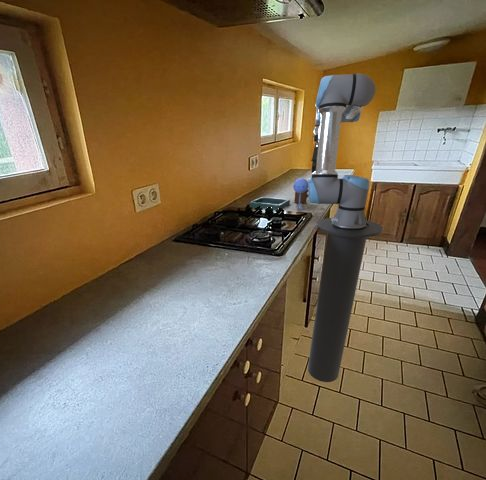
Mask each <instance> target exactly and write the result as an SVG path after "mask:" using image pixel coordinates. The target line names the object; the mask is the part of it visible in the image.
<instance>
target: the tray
mask: <svg viewBox="0 0 486 480" xmlns="http://www.w3.org/2000/svg"><path fill="white" fill-rule="evenodd" d="M290 203H291V199H288V198H278V197H277V198H276V197H265V196H261V197H258V198H256V199H254V200H251V201H249V208H254V209H255V208H256V209H258V208H257V207H259V206H260V208H259V209H265V210H268V209H267V207H272V209H273V210H272V211H279V210H278V208H282V209H285V208H286V207H288V206H289V205H290Z"/></svg>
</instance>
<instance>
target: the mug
mask: <svg viewBox="0 0 486 480" xmlns="http://www.w3.org/2000/svg"><path fill="white" fill-rule="evenodd" d="M299 198H300V193H297V192H296V191H295V190H294V200H293V201H294V203H295V204H299ZM308 198H309V196H308V189H307V190H306V191H305V192H304V193H301V198H300V204H301V205H302V204H306V203H307V199H308Z"/></svg>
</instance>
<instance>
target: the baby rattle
mask: <svg viewBox="0 0 486 480" xmlns="http://www.w3.org/2000/svg"><path fill="white" fill-rule="evenodd" d="M292 188H293V190H294V192H295V191H296V192H297V193H300V198H301V193H304V192H305V191H306V190H307V189H308V179H305V178H303V177H300V178H297V179H296V180H295V181H294V183H293V185H292ZM300 198H299V203H297V206H296V209H297V210H300V211H301V210H302V204H300Z"/></svg>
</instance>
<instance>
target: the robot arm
mask: <svg viewBox="0 0 486 480" xmlns="http://www.w3.org/2000/svg"><path fill="white" fill-rule="evenodd" d="M376 91H377V89H376V84H375V82H374V80H373V79H372V78H371V77H369V76H368V75H367V74H364V73H348V74H332V75H325V76H323V77H322V78H321V79H320V83H319V86H318V91H317V96H316V98H315V99H316V100H315V107H316V110H315V122H314V127H313V134H314V135H313V140H312V142H316V143H314V147H313V153H312V157H311V159H310V161H311V162H312V163H311V171H310V172H311V173H312V174H311V177H310V178H308V179H307V181H308V192H307V194H308V196H309V197H308V201H309V203H310V204H318V205H321V204H322V205H338V206H337V210H336V212H335V214H334V216H333V217H330V218H331V221H332V226H334V227H336V228H340V229H345V230H360V229H364V228H365V227H366V225H367V226H369V224H367V223H366V220H367V219H366V213H365V210H366V206H367V205H366V204H367V199H368V194H369V190H370V180H369V179H368V178H366V177H363V176H360V175H354V174H353V175H352V174H343V175H342V178H339V174H338V172H337V171H336V164H337V159H338V148H339V140H340V130H341V124H342V123H356V122H358V121H360V117H361V112H362V109H363V108H364V107H365V106H367V105H369V104H370V103H371V102H372V100H374V97H375V94H376Z"/></svg>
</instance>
